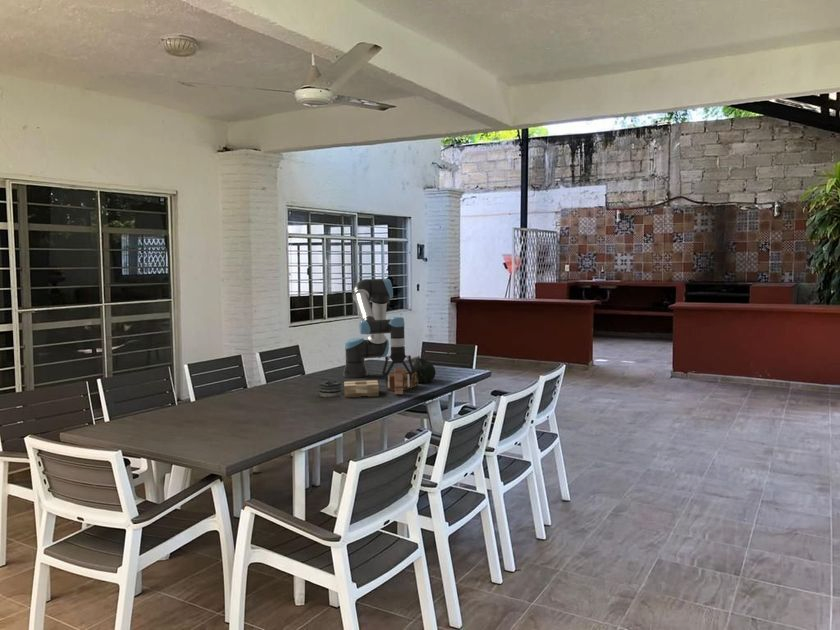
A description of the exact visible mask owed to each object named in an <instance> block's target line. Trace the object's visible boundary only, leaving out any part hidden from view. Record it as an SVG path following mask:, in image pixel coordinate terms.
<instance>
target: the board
mask: <svg viewBox="0 0 840 630" xmlns="http://www.w3.org/2000/svg"><path fill="white" fill-rule="evenodd" d="M343 384H344V385H343V386H344V387H343V389H344V392H343V393H344V398H345V397H346V398H362V397H361V396H368V397H379V396H380V393H379V391H380V389H379V382H378V379H369V380H366V379H365V380H346V381H344V382H343Z"/></svg>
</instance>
